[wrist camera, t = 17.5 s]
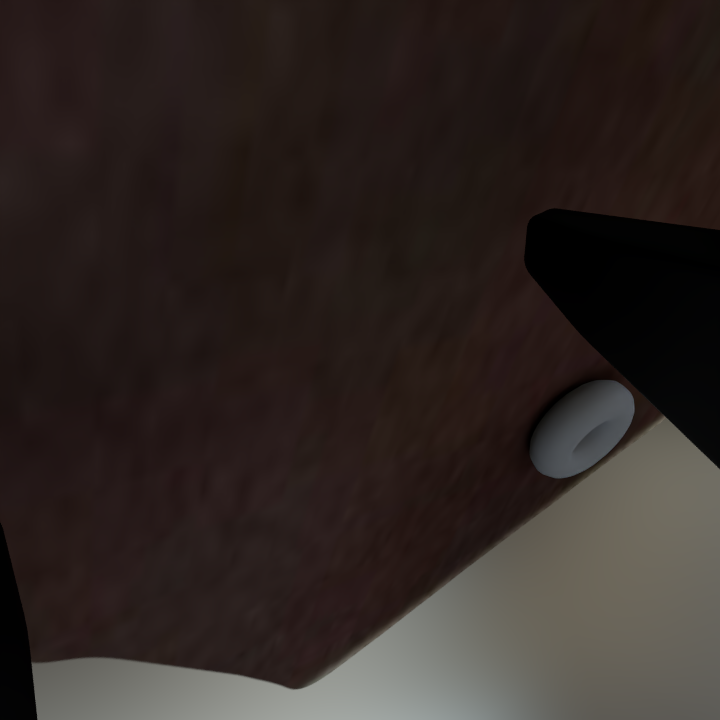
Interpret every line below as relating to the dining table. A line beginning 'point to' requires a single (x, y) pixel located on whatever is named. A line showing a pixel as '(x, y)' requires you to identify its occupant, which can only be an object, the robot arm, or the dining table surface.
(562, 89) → the dining table surface
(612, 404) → the donut
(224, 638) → the dining table surface
